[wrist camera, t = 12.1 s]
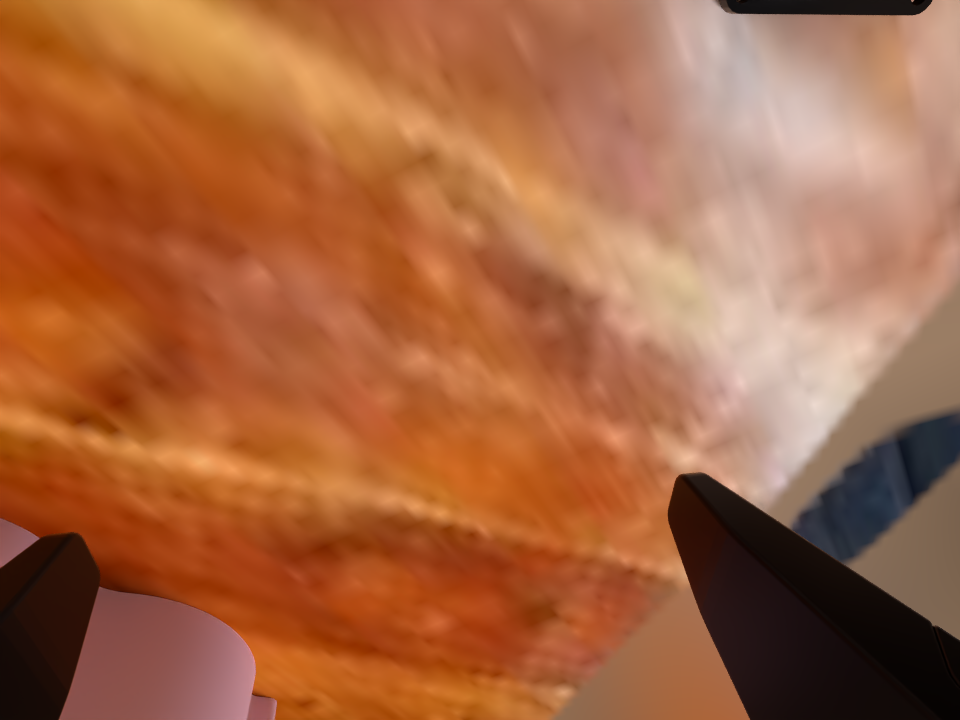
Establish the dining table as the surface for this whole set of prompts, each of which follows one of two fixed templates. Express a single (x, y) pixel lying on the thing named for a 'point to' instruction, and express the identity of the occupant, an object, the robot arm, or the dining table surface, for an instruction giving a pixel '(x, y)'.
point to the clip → (154, 659)
